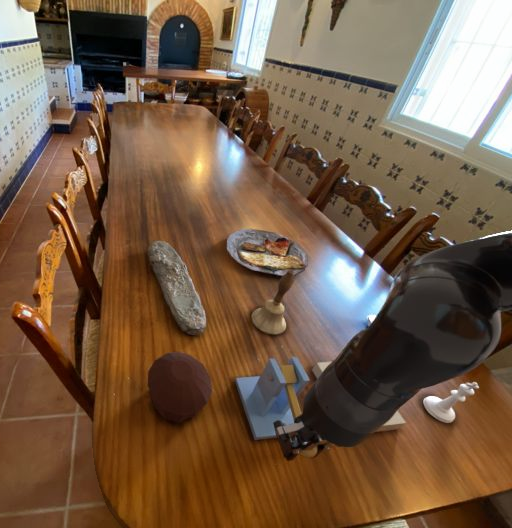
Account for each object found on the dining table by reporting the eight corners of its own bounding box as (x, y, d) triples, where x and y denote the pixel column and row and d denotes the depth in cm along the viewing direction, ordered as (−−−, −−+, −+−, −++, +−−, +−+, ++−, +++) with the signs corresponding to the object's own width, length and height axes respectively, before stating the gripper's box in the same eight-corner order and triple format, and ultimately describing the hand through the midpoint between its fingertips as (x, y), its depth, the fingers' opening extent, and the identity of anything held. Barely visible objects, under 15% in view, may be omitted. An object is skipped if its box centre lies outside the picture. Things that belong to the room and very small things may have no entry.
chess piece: (457, 426, 55) (500, 401, 49) (428, 417, 57) (465, 391, 50) (447, 402, 59) (485, 375, 53) (419, 393, 60) (453, 366, 54)
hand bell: (254, 304, 77) (273, 255, 67) (287, 315, 74) (312, 267, 64) (248, 326, 71) (267, 277, 61) (283, 340, 68) (309, 290, 58)
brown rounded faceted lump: (137, 382, 58) (138, 352, 52) (186, 363, 62) (193, 333, 56) (162, 443, 50) (166, 416, 44) (217, 417, 54) (228, 389, 48)
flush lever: (313, 455, 45) (325, 457, 42) (293, 458, 45) (305, 459, 42) (287, 367, 52) (296, 363, 49) (270, 369, 51) (278, 365, 48)
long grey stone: (174, 344, 67) (214, 337, 70) (178, 330, 64) (219, 323, 67) (140, 248, 92) (170, 245, 94) (142, 234, 88) (173, 232, 91)
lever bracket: (302, 434, 53) (333, 399, 45) (254, 440, 51) (277, 405, 43) (276, 377, 61) (298, 339, 53) (234, 381, 60) (250, 342, 52)
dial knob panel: (397, 429, 54) (412, 418, 52) (349, 435, 53) (361, 424, 50) (353, 366, 64) (364, 354, 62) (311, 369, 63) (320, 357, 60)
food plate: (299, 241, 102) (302, 232, 99) (313, 287, 84) (318, 277, 81) (226, 230, 104) (228, 221, 102) (224, 271, 86) (226, 262, 84)
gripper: (310, 439, 32) (264, 487, 43) (424, 425, 34) (352, 474, 45) (280, 375, 38) (246, 431, 48) (378, 366, 39) (325, 422, 50)
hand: (297, 452), depth 46 cm, fingers closed on flush lever, 3 cm apart
